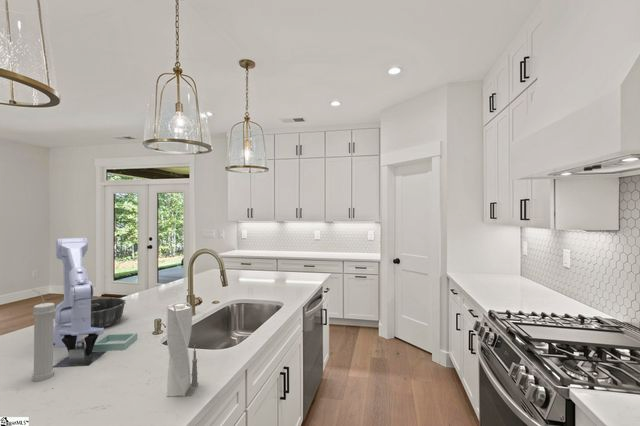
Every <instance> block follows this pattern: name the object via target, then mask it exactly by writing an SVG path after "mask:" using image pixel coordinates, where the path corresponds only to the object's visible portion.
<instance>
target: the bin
mask: <svg viewBox="0 0 640 426" xmlns="http://www.w3.org/2000/svg"><path fill="white" fill-rule="evenodd" d="M137 340H138V332H130V333H129V332H128V333H127V332H126V333H109V334H105V335H104V336H102V337H101V338H99V339H97V340H96V342H95V344H94V347H93V350H92V352H99V351H107V352H108V351H125V350H126V349H127V348H128V347H130V346H131V345H132V344H133V343H134V342H135V341H137ZM121 341H122V342H121Z"/></svg>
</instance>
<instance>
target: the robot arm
mask: <svg viewBox="0 0 640 426" xmlns="http://www.w3.org/2000/svg"><path fill="white" fill-rule="evenodd" d="M88 248H89V242H88V238H86V237H69V238H68V237H67V238H59V237H58V238H57V239H56V241H55V256H56V259H57V260H60V261H62V264H63V300H62V301H61V302H59V303H58V304H56V305H55V312H54V323H55V325H53V348H57V347H59V348H66V349H67V353H69V350H70V349H72V348H73V347H75V346H76V345H77V342H78V341H81V340H82V337H83V336H85V337H84V341H85V344H86V355H87V356H89V355H90V354H92V352H93V351H92V350H93V347H94V344H95V342H96V341H98V338H99V336H101V335H103V334H105V332H104V331H105V327H100V328H95V327H91V299H94V286H93V283H92V281H91V280H90V277H89V273H88V269H87V268H85V267H84V262H83V260H84V259H83V258H84V257H85V255H86V253H87V251H88V250H89V249H88ZM65 307H71V308H65ZM62 308H65V309H62Z"/></svg>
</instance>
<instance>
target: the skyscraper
mask: <svg viewBox="0 0 640 426" xmlns="http://www.w3.org/2000/svg"><path fill="white" fill-rule="evenodd" d="M187 305H188V306H187ZM192 325H193V306H192V305H191V304H190V303H189V302H187V301H177V302H175V303H171V304H170V305H167V306H166V325H165V327H166V341H167V349H168V354H169V355H168V356H169V359H168V368H167V382H166V383H167V384H166V397H167V398H177V397H192V395H193V394H194V392H195V390H196V388H197V387H198V385H199V382H198V365H197V363H198V358H197V351H196V345H194V346H193V349H194V350H193V351H192V352H193V353H192V354H193V358H192V366H191V362H190V355H189V344H190V340H191V335H192V328H193V327H192ZM191 367H192V369H191Z"/></svg>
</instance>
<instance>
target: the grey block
mask: <svg viewBox="0 0 640 426" xmlns="http://www.w3.org/2000/svg"><path fill="white" fill-rule="evenodd" d="M68 356H69V362H84V361H86V360H87V359H88V358H90V357H91V356H92V354H90V355H89V356H87V355H86V343H85V340H81V341H78V342H77V345H76V346H75V347H73V348H72V349H70V350H69V352H68Z"/></svg>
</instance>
